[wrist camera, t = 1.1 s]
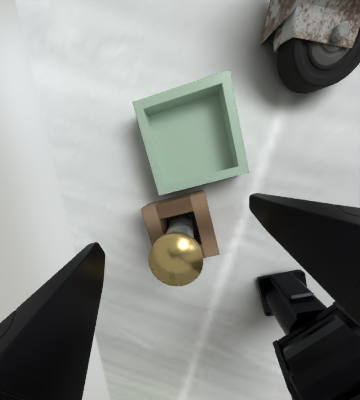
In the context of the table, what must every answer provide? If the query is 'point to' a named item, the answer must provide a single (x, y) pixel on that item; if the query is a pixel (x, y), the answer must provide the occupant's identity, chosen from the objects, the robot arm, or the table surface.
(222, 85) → the tray
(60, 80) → the table surface
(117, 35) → the table surface
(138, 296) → the table surface
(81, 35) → the table surface
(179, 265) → the pin
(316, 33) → the caster wheel
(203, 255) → the socket block
